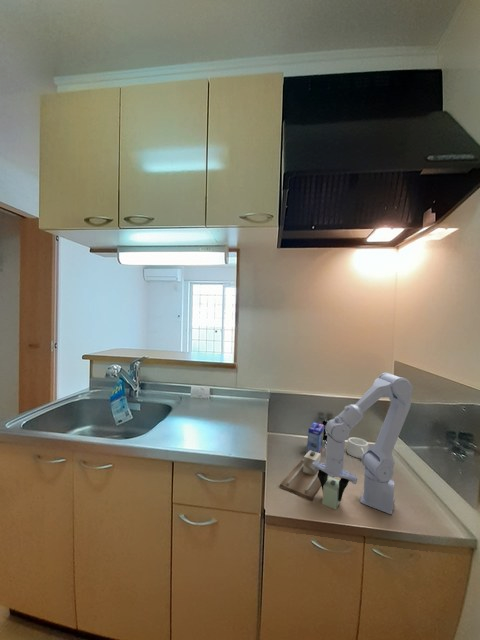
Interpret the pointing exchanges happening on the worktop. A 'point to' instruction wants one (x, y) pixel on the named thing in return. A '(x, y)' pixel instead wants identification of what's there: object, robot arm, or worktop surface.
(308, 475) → the rail board
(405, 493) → the worktop surface
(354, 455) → the mug
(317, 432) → the ink cartridge box
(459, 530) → the worktop surface
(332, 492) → the module
